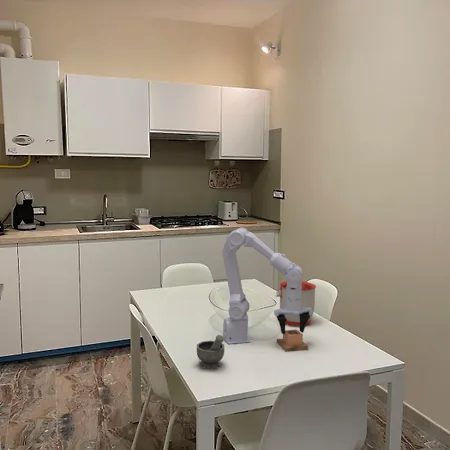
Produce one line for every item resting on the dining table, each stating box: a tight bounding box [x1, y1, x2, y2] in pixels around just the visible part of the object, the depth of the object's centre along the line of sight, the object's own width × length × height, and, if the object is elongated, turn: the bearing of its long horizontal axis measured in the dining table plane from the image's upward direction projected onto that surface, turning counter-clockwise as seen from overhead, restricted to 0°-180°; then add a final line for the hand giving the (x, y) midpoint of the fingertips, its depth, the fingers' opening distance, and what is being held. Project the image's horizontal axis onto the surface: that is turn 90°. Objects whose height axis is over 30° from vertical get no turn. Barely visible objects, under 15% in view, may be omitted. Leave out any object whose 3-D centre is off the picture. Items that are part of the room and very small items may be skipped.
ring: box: [282, 328, 304, 346], centre depth 175 cm, size 6×6×4 cm
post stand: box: [276, 331, 309, 353], centre depth 175 cm, size 9×9×6 cm
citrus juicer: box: [275, 280, 317, 327], centre depth 201 cm, size 16×17×20 cm
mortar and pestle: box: [196, 334, 225, 370], centre depth 156 cm, size 11×9×12 cm
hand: (292, 332), depth 175 cm, fingers open, 7 cm apart
